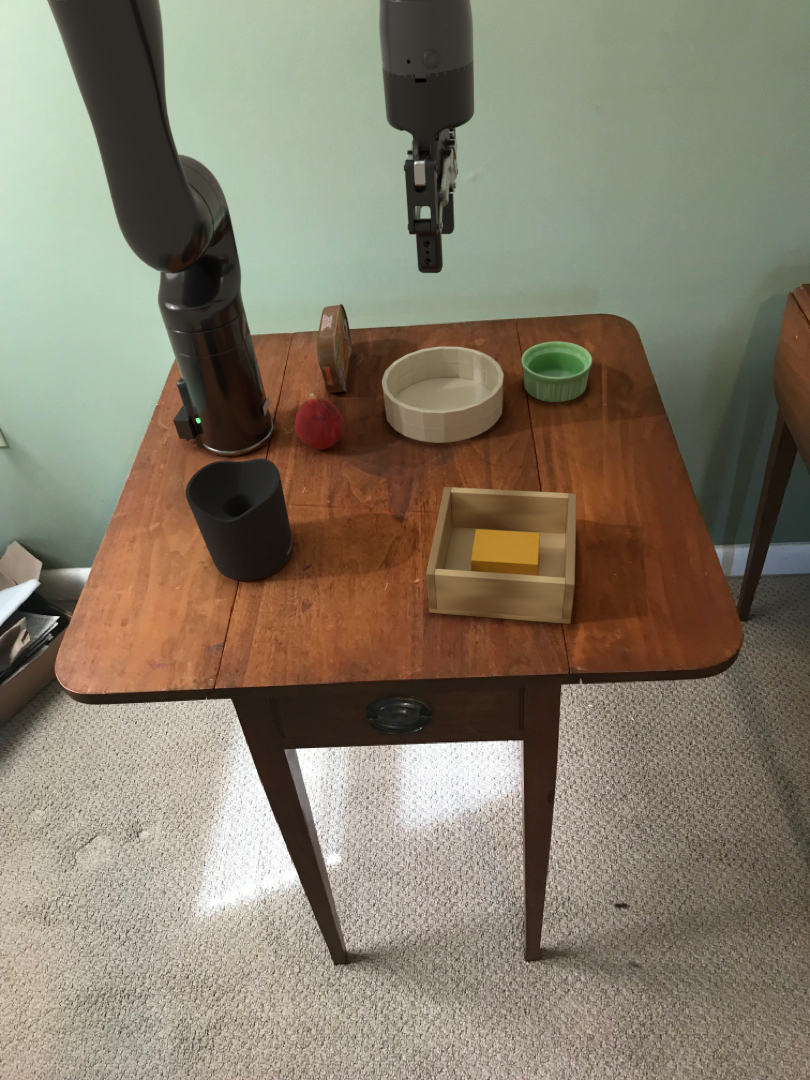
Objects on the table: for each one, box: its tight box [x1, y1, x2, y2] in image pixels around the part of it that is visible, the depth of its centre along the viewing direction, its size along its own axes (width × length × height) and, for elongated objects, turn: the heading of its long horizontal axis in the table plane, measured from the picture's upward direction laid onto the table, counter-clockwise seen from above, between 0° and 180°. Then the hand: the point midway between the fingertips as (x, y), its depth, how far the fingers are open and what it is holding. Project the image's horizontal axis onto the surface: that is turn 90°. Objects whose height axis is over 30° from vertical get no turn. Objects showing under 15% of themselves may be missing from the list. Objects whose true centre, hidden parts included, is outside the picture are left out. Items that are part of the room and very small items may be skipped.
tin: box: [316, 303, 353, 394], centre depth 106 cm, size 15×3×8 cm, turn 179°
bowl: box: [381, 345, 505, 444], centre depth 98 cm, size 15×15×5 cm
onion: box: [294, 392, 344, 451], centre depth 93 cm, size 6×6×8 cm
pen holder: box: [185, 458, 294, 582], centre depth 80 cm, size 9×9×10 cm
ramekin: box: [520, 341, 593, 403], centre depth 100 cm, size 9×9×4 cm
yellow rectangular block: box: [471, 529, 540, 576], centre depth 77 cm, size 6×4×3 cm
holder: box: [425, 486, 578, 625], centre depth 77 cm, size 14×13×6 cm
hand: (437, 251), depth 74 cm, fingers open, 8 cm apart
